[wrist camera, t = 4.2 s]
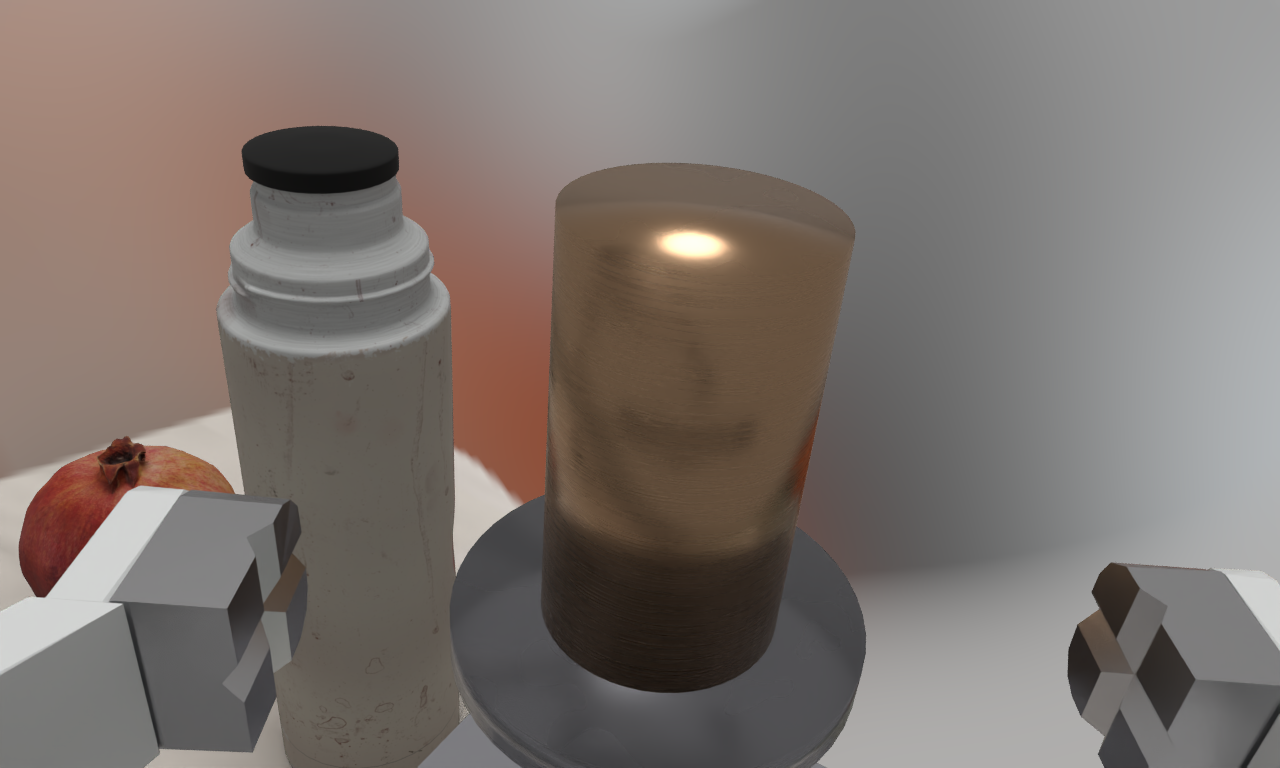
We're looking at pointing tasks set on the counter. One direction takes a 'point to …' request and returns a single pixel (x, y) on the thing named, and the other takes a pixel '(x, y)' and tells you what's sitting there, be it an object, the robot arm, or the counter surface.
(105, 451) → the fruit
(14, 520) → the counter surface
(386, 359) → the thermos bottle
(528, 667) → the brown candle holder
